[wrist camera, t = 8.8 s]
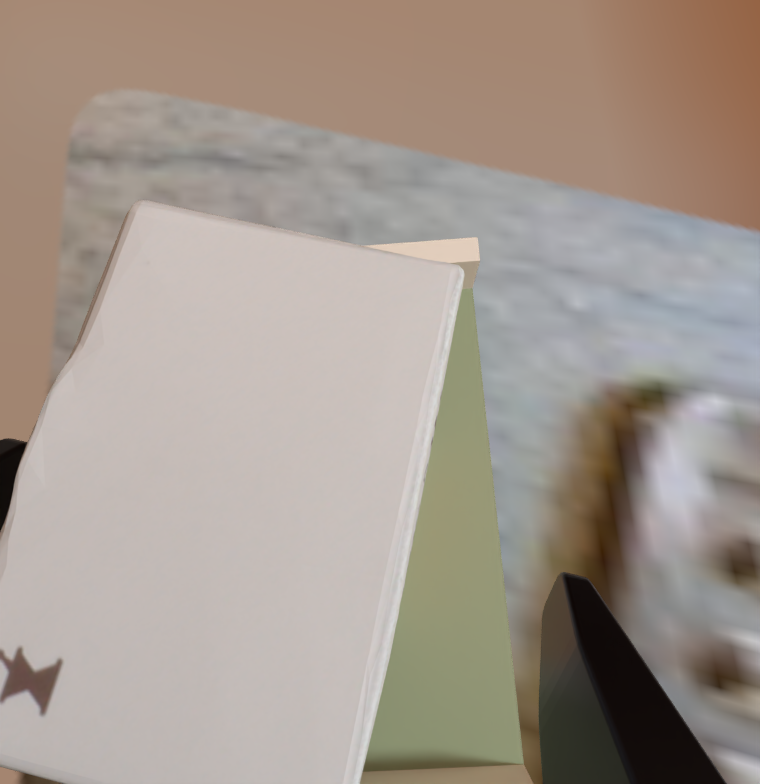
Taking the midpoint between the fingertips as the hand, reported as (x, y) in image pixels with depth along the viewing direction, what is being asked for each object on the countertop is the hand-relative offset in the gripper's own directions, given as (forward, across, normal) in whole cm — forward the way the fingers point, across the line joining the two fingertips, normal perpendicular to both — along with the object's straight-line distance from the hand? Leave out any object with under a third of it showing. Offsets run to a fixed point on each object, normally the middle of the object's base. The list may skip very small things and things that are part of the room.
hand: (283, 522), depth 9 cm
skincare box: (+6, 0, +6) cm, 8 cm away
